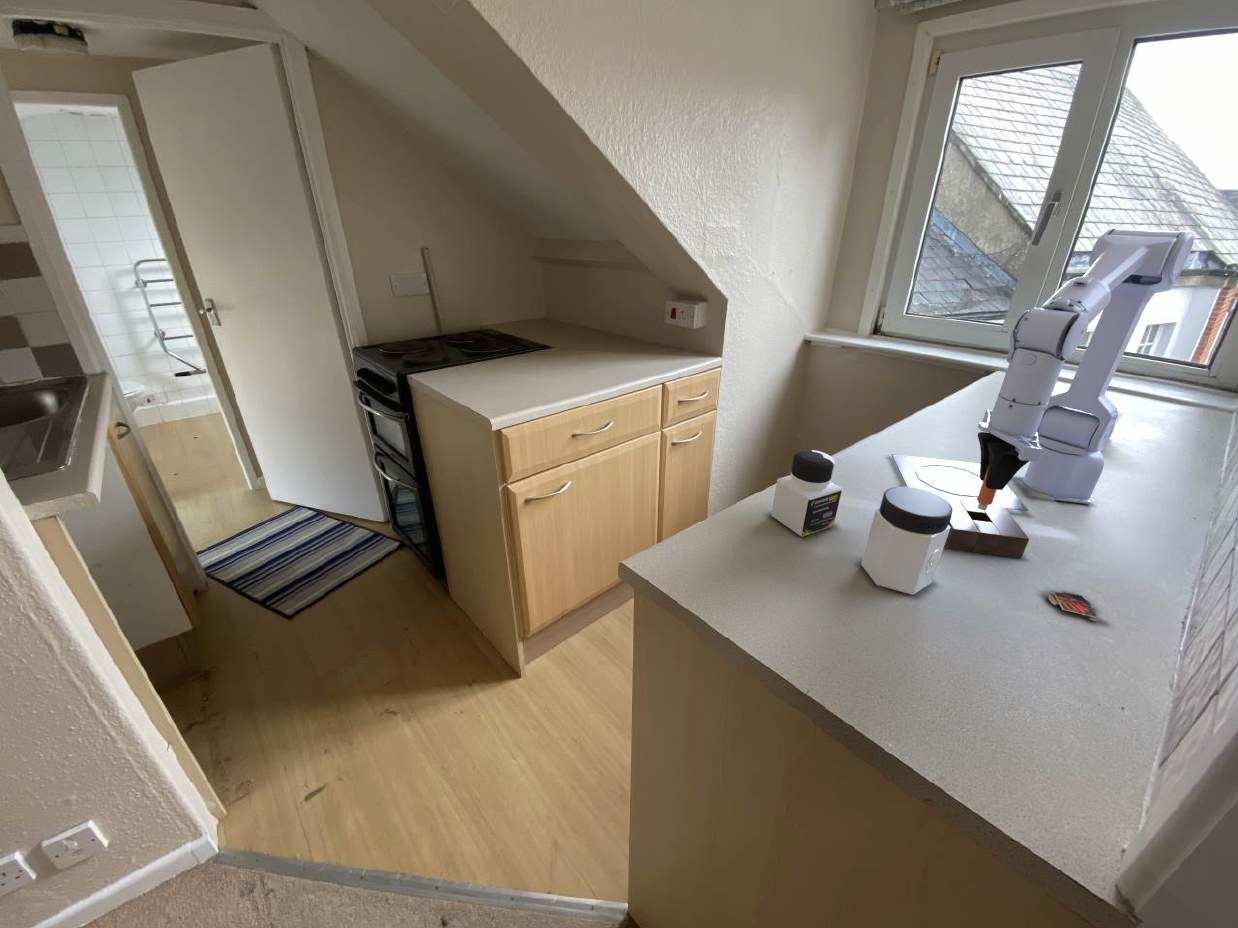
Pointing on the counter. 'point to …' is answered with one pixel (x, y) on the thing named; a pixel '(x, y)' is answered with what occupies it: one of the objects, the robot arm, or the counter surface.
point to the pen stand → (984, 530)
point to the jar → (907, 539)
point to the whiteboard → (950, 479)
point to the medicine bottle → (807, 494)
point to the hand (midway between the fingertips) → (990, 484)
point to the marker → (985, 495)
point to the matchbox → (1073, 604)
